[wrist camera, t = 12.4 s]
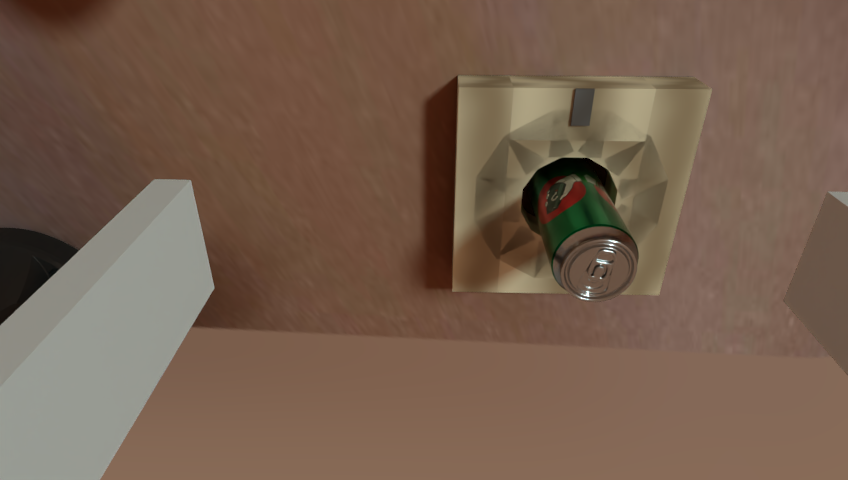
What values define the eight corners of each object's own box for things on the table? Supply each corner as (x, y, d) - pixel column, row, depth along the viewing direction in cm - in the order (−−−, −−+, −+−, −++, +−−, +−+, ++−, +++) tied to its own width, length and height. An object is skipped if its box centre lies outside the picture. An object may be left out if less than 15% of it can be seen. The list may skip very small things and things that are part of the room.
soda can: (519, 206, 44) (543, 299, 33) (539, 145, 41) (571, 226, 31) (582, 218, 44) (624, 314, 34) (605, 159, 42) (659, 243, 31)
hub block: (451, 270, 47) (452, 293, 44) (457, 75, 39) (458, 88, 36) (647, 273, 47) (659, 296, 44) (694, 77, 38) (713, 90, 36)
